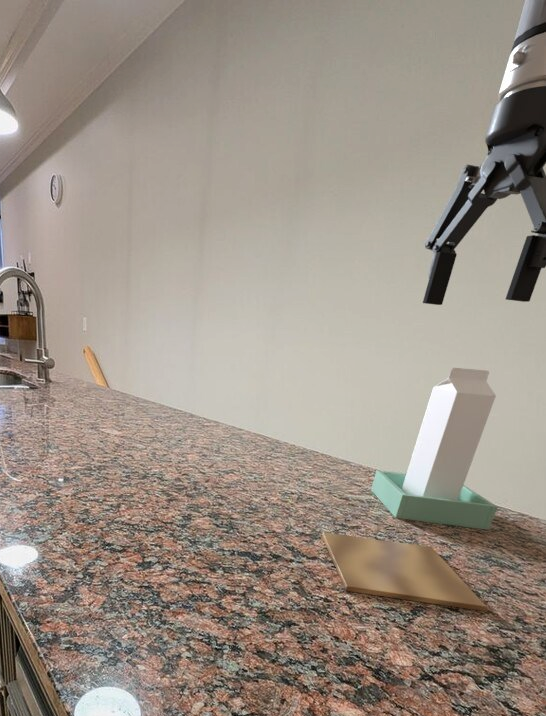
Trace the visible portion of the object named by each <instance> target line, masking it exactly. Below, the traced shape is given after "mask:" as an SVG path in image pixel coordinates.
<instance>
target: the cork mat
mask: <svg viewBox="0 0 546 716" xmlns="http://www.w3.org/2000/svg"><path fill="white" fill-rule="evenodd" d="M321 538H322V540H323V542H324V545H325V547H326V548H327V551H328V554H329V556H330V559H331V561H332V563H333V565H334V567H336V568H335V570H336V573H337V574H338V577H339V579H340V581H341V583H342V586H343V588H344V591H346V592H352V593H359V594H366V595H370V596H371V595H373V596H379V597H385V598H392V599H399V600H405V601H406V600H407V601H413V602H419V603H425V604H434V605H439V606H446V607H452V608H459V609H465V610H466V609H467V610H473V611H480V612H486V610H487V608H488V606H487V605H486V604H485V603H484V602H483V601H482V600H481V599H480V598H479V596H478V595H477V594H476V593H475V592H474V591H473V590H472V589H471V588H470V587H469V586H468V585H467V584H466V583H465V581H464V580H463V579H462V578H461V577H460V576H459V575H458V574H457V573H456V571H455V570H453V568H452V567H451V566H450V565H449V564H448V563H447V562H446V561H445V560H444V559H443V558H442V557H441V556H440V554H439V553H437V550H435V549H434V548H433V547H432V546H426V545H419V544H413V543H412V544H411V543H404V542H397V541H389V540H382V539H377V538H376V539H375V538H368V537H360V536H353V535H345V534H339V533H331V532H322V533H321Z"/></svg>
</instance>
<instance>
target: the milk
mask: <svg viewBox="0 0 546 716" xmlns="http://www.w3.org/2000/svg"><path fill="white" fill-rule="evenodd" d="M489 374H490V371H489V370H485V369H484V370H483V369H474V368H473V369H472V368H462V367H452V368H451V369H450V371H449V375H448V377H447V378H445V379H444V380H442V381H441V382H439V383H438V384H436V385H434V386H432V390H431V393H430V397H429V400H428V403H427V406H426V408H425V413H424V416H423V419H422V422H421V425H420V429H419V432H418V436H417V438H416V442H415V445H414V448H413V452H412V455H411V457H410V461H409V464H408V467H407V471H406V473H405V474H406V477H405V480H404V483H403V487H402V491H403V492H404V493H405V494H409V495H417V496H426V497H434V498H442V499H450V500H458V499H459V496H460V493H461V490H462V488H463V485H465V482H466V479H467V476H468V474H469V471H470V468H471V465H472V462H473V460H474V457H475V456H476V455H475V454H476V451H477V449H478V446H479V444H480V441H481V438H482V435H483V433H484V429H485V428H486V425H487V421H488V418H489V416H490V413H491V409H492V408H493V405H494V402H495V400H496V397H497V396H496V393H495V392H494V391H493V389H492V388H491V386H490V385H489V383H488V382H487V380H488V377H489Z"/></svg>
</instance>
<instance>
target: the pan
mask: <svg viewBox="0 0 546 716" xmlns="http://www.w3.org/2000/svg"><path fill="white" fill-rule="evenodd" d="M406 474H407V473H403V472H395V471H388V470H387V471H386V470H379V469H376V470H375V473H374V478H373V481H372V485H371V488H370V491H371V492H372V493H373V494H374V495H375V496H376V497H377V498H378V500H379V501H380V502H381V503H382V504H383V506H384V507H385V508H386V509H387V510H388V511H389V512H390V513H391V515H392V516H393V517H394V518H395V519H401V520H402V519H403V520H407V521H408V520H409V521H415V522H416V521H417V522H426V523H432V524H438V525H439V524H441V525H446V526H447V525H449V526H456V527H463V528H471V529H479V530H486V531H489V530H490V527H491V525H492V522H493V520H494V517H495V515H496V513H497V510H498V506H497V505H496V504H494V503H493V502H492V501H489V500H488V499H486V498H485V497H483V496H482V495H481V494H479V493H477V492H476V491H474V490H473V489H471V488H469V487H468V486H467V485H465V484H464V485H463V488H462V490H461V493H460V496H459V499H458V500H450V499H442V498H434V497H426V496H417V495H409V494H405V493H404V492H403V491H402V487H403V483H404V480H405V477H406Z"/></svg>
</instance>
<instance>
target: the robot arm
mask: <svg viewBox="0 0 546 716" xmlns="http://www.w3.org/2000/svg"><path fill="white" fill-rule="evenodd" d="M497 94H498V95H497V100H498V103H496V105H495V106H494V108H493V110H492V114H491V118H490V121H489V125H488V128H487V131H486V134H485V137H484V138H485V139H484V141H485V145H486V147H487V154H486V157H485V159H484V161H483V162H482V164H478V165H472V164H466V165H465V166H463V168H462V169H461V173H460V175H459V179H458V182H457V184H456V187H455V188H454V190H453V193H451V194H452V195H451V196H450V198H449V200H448V202H447V203H446V205H445V207H444V209H443V210H442V212H441V214H440V216H439V218H438V220H437V222H436V224H435V225H434V227H433V228H432V230H431V232H430V234H429V236H428V238H427V239H426V242H425V243H424V249H426V250H430V251H432V252H433V257H432V261H431V264H430V267H429V268H430V269H429V272H428V282H427V286H426V289H425V292H424V297H423V300H422V304H427V305H435V306H436V305H437V306H442V305H443V303H444V300H445V296H446V294H447V293H446V292H447V289H448V286H449V283H450V279H451V276H452V273H453V269H454V265H455V262H456V259H457V254H458V253H457V251H456V250H455V249H456V248H457V247H458V245H459V244H460V243H461V242H462V241H463V239H464V238H465V236H466V235H467V234H468V233H469V231H470V230H472V227H473V226H474V225H475V224H476V223H477V222H478V220H480V218H481V216H482V215H483V214H484V213H485V211H486V210H487V209H488V208H489V207H491V206H493V205H495V203H496V202H497V201H498V200H502V199H505V198H507V197H509V196H511V195H521V198H522V201H523V203H524V205H525V209H526V210H527V213H528V216H529V218H530V221H531V223H532V226H533V230H531V231H530V233H531V234H530V235H527V236H526V238H525V240H524V244H523V247H522V249H521V253H520V255H519V258H518V261H517V264H516V266H515V270H514V272H513V276H512V279H511V281H510V285H509V288H508V290H507V293H506V296H505V300H508V301H515V302H521V303H522V302H523V303H524V302H525V303H527V302H530V301H531V298H532V296H533V293H534V290H535V287H536V284H537V282H538V279H539V276H540V274H541V271H542V269H545V268H546V171H545V170H544V166H545V165H546V0H524V5H523V7H522V11H521V15H520V18H519V22H518V26H517V30H516V33H515V37H514V40H513V44H512V47H511V50H510V54H509V57H508V59H507V64H506V67H505V71H504V74H503V77H502V82H501V84H500V88H499V92H498V93H497ZM534 234H537V235H534Z"/></svg>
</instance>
